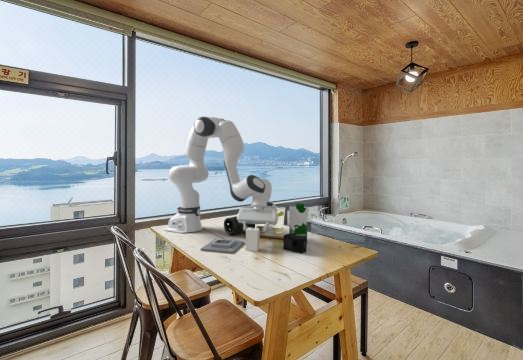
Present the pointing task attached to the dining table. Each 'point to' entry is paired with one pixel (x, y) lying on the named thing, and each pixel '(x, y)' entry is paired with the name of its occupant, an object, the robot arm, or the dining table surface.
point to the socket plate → (223, 246)
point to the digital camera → (294, 243)
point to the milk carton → (298, 220)
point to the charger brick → (252, 239)
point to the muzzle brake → (235, 226)
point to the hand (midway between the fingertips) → (254, 230)
